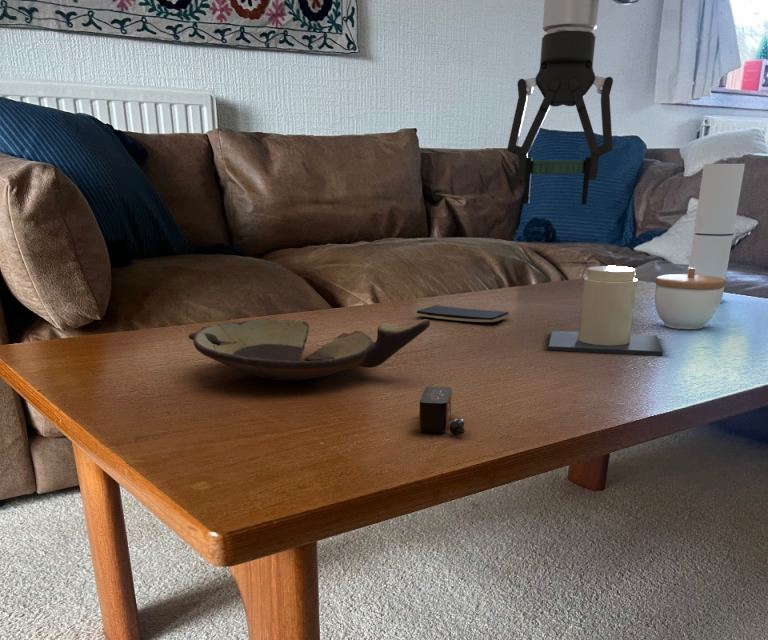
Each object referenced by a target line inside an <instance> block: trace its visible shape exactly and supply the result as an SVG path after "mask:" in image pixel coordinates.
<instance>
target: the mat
mask: <svg viewBox="0 0 768 640" xmlns="http://www.w3.org/2000/svg"><path fill="white" fill-rule="evenodd" d="M578 333H579V331H564V330H563V331H561V330H552V331H551V333H550V338H549V344H548V346H547V347H548V348H547V350H548V351H557V352H577V353H578V352H579V353H581V352H582V353H599V354H600V353H601V354H619V355H639V356H640V355H643V356H663V355H664V354H663V353H664V350H663V348H662V346H661V343H660V340H659V337H658V335H657V334H637V333H636V334H635V333H631V337H630V342H629V343H628V344H624V345H615V346H604V345H593V344H587V343H583V342H581V341H579V340H578Z"/></svg>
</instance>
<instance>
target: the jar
mask: <svg viewBox="0 0 768 640" xmlns="http://www.w3.org/2000/svg"><path fill="white" fill-rule="evenodd" d="M586 270H587V276H585V277H583V282H582V291H581V292H582V294H581V304H580V314H579V325H578V332H579V333H578V340H579V341H581V342H583V343H587V344H593V345H604V346H615V345H624V344H628V343H629V342H630V337H631V334H632V328H633V320H634V312H635V304H636V295H637V288H638V278H635V276H636V268H633V267H628V266H616V265H598V266H590V267H588V268H587V269H586Z"/></svg>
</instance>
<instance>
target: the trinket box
mask: <svg viewBox="0 0 768 640" xmlns="http://www.w3.org/2000/svg"><path fill="white" fill-rule="evenodd" d="M688 268H689V267H688ZM694 274H695V268H689V270H688V269H687V274H686V273H685V274H682V273H681V274H679V273H678V274H677V273H676V274H675V273H674V274H663V275H659V276H657V277H655V291H654V306H655V307H654V308H655V311H656V314H657V316H658V317H659V318H660V321H662V322H663V326H665V327H667V328H670V329H677V330H699V329H703V328H704V325H706V324H708V322H710V321H711V320H712V319H713V318H714V316H715V315H716V314H717V312H718V310H719V308H720V304H721V303H722V302H721V299H722V300H723V297H722V294H723V295H724V291H723V288H724V289H725V286H726V279H725V280H724V279H722V278H719V277H714V276H705V275H694Z"/></svg>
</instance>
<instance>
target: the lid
mask: <svg viewBox="0 0 768 640" xmlns="http://www.w3.org/2000/svg"><path fill="white" fill-rule="evenodd" d="M585 160H586V159H584V160H583V159H571V160H569V159H568V160H567V159H566V160H565V159H564V160H563V159H561V160H560V159H559V160H558V159H555V160H554V159H553V160H552V159H551V160H550V159H548V160H538V159H537V160H536V159H535V160H532V161H531V174H533V175H537V174H538V175H539V174H540V175H542V174H543V175H548V174H549V175H551V174H552V175H553V174H554V175H562V174H563V175H565V174H568V175H572V174H575V175H576V174H584V171H585Z"/></svg>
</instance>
